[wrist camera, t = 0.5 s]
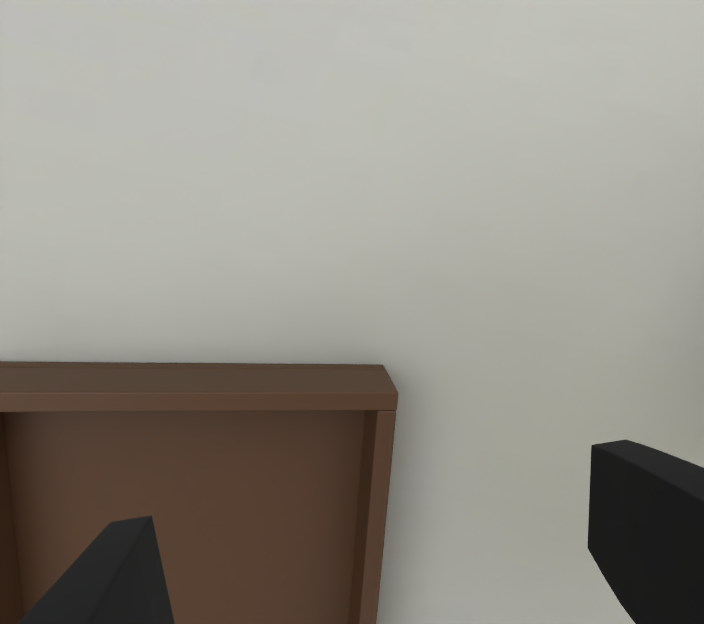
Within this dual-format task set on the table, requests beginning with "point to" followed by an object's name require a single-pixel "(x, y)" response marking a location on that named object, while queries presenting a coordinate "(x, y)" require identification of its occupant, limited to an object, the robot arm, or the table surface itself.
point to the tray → (202, 482)
